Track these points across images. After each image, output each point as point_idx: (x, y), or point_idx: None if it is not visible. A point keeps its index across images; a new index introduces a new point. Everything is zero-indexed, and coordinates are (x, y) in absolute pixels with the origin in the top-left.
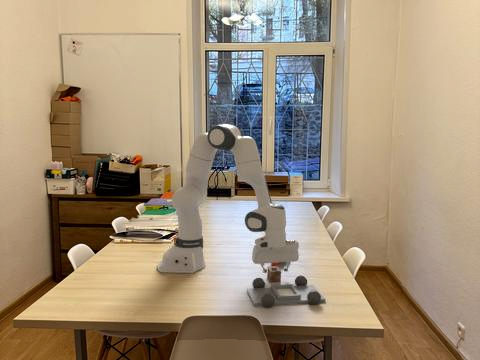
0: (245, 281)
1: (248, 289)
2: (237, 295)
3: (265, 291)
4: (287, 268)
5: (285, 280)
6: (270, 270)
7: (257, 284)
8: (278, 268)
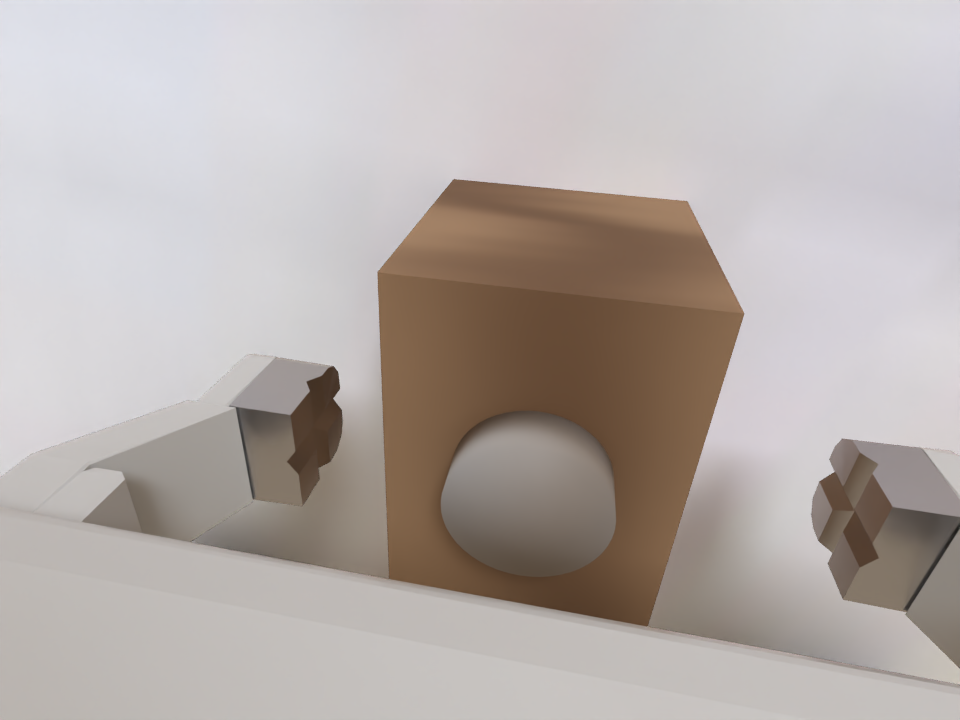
0: (31, 270)
1: None
2: None
3: None
4: (923, 602)
5: (759, 413)
6: (399, 531)
7: None
8: (676, 478)
